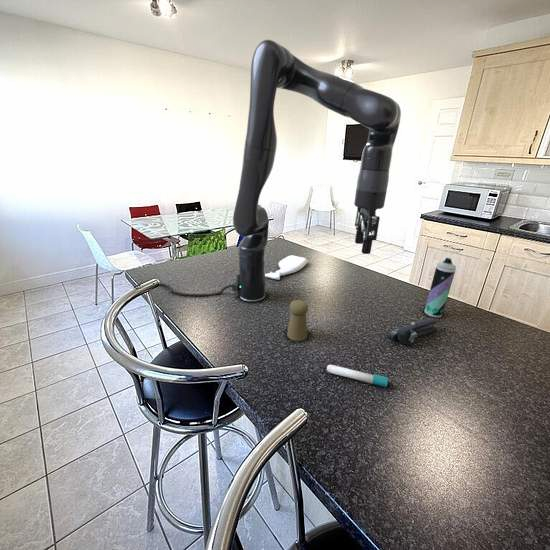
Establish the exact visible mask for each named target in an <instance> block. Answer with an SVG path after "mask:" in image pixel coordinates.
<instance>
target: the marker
mask: <svg viewBox="0 0 550 550" xmlns="http://www.w3.org/2000/svg"><path fill="white" fill-rule="evenodd" d="M326 371H327V372H328V373H329V374H333V375H337V376H340V377H344V378H347V379H353V380H356V381H360V382H364V383H368V384H371V385H374V386H378V387H383V388H387V387H388V383H389V377H388V376H383V375H379V374H375V373H373V374H371V373H367V372H363V371H358V370H354V369H351V368H346V367H343V366H339V365H334V364H328V365H327V366H326Z"/></svg>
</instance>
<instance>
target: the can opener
mask: <svg viewBox="0 0 550 550" xmlns="http://www.w3.org/2000/svg"><path fill="white" fill-rule="evenodd" d="M437 323H438V322H437V319H435V318H428V319H427V318H425V319H422V320H418V321H415V322H414V321H412V322H411V323H410V324H406V325H405V326H402V327H400V328H394V329H391V330H390V331H389V332H388V334H387V337H388V338H390V339H392V340H393V341H399V342H400V343H401V344H402V345H403V344H404V345H408V346H412V345H414V344H415V339H417V338H418V337H421V336H424V335H427V334H430V333H433V332H434V331H436V330H437V329H436V327H435V326H434V324H437Z"/></svg>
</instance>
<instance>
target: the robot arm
mask: <svg viewBox="0 0 550 550" xmlns="http://www.w3.org/2000/svg"><path fill="white" fill-rule="evenodd" d="M255 47H256V48H255V49H254V52H253V55H252V58H251V64H250V65H251V66H250V84H249V85H250V86H249V87H250V88H249V105H248V107H249V108H248V115H247V123H246V124H247V125H246V134H245V139H244V147H243V156H242V166H241V172H240V180H239V186H238V187H239V188H238V193H237V196H236V201H235V206H234V210H233V214H232V225H233V228H234V230H235V232H236V233H237V234H238V235H239V236H241V237H243V238H242V240H241V241H240V242H239V244H238V246H237V248H238V250H237V251H238V272H237V274H236V280H235V282H233V283H232V284H228V285H226V286H224V287H223V288H222V289H221V290H219V291H218V292H213V293H186V292H180V291H176V290H173V289H172V288H171V287H170V286H169V285H167V284H166V283H162V282H159V283H160V284H159V285H158V286H163V287H165V288H166V289H167V290H168V291H169V292H171V293H173V294H176V295H180V296H184V297H213V296H219V295H220V294H222V293H223V292H224V291H225V290H226V289H229V288H231V290H232V292H237V298H239V299H240V300H242V301H244V302H247V303H257V302H261V301H263V300H265V298H266V276H265V274H266V248H267V245H268V242H269V222H270V221H269V214H268V212H267V210H266V209H265V207H264V206H262V205H261V204H259V200H260V197H261V193H262V191H263V189H264V187H265V185H266V183H267V181H268V179H269V177H270V175H271V174H272V170H273V168H274V165H275V159H276V153H277V147H278V136H277V135H278V134H277V127H276V122H275V112H274V111H275V100H276V96H277V89H279V90H280V89H281V90H285V91H291V92H295V93H298V94H300V95H304V96H305V97H307V98H309V99H311V100H313V101H314V102H316V103H317V104H319V105H321V106H322V107H324V108H326V109H328V110H329V111H332V112H334V113H336V114H338V115H341V116H343V117H345V118H348V119H351V120H353V121H355V122H356V123H358V124H360V125H361V126H362V127H365V128H366V129H369V131H368V136H367V142H366V145H364V147H363V150H362V152H361V153H362V154H361V159H360V165H359V173H358V176H357V182H356V189H355V196H354V202H353V203H354V206H355V207H356V208H357V209H356V215H355V222H354V227H355V237H354V238H355V239H354V243H355V244H356V245H362V246H361V254H363V255H370V254H371V252H372V247H373V241H377V238H378V232H379V225H380V219H381V218H380V216H377V210H381V209H383V208H384V207H385V203H386V202H385V201H386V197H387V191H388V187H389V186H388V185H389V181H390V180H389V179H390V168H391V163H392V157H393V149H394V145H395V142H396V138H397V135H398V132H399V129H400V128H399V127H400V124H401V117H402V110H401V107H400V105H399V104H398V102H397V101H396V100H394V99H393V98H391V97H390V96H387V95H385V94H382V93H379V92H377V91H374V90H370V89H368V88H364V87H363V86H361V85H360V84H358V83H355V82H354V81H352V80H349V79H346V78H344V77H341V76H339V75H337V74H333V73H331V72H330V73H329V72H325V71H322V70H319V69H316V68H314V67H312V66H310V65H309V64H307V63H305V62H304V61H302V60H301V59H300V58H298V57H297V56H295V55H294V54H293V53H291V52H290V50H289V49H287V48H286V47H285V46H283V45H281V44H280V43H278V42H276V41H275V40H272V39H264V40H262V41H260V43H258V45H257V46H255ZM143 283H144V282H141V283H139V284H136V286H134V288H136V287H138V286H139V287H141V286H140V285H141V284H143ZM139 287H138V288H139ZM136 289H137V288H136Z"/></svg>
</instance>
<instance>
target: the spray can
mask: <svg viewBox="0 0 550 550" xmlns="http://www.w3.org/2000/svg"><path fill="white" fill-rule="evenodd" d="M456 269H457V266H456V265H454V263H453V261H452V259H451V257H445V259H444V260H443V261H441V262H437V264H436V266H435V270H434V274H433V277H432V281H431V285H430V288H429V292H428V296H427V300H426V304H425V308H424V313H425V314H426V315H427V316H428V317H431V318H442V316H443V313H444V311H445V308H446V303H447V301H448V297H449V294H450V290H451V287H452V285H453V280H454V277H455V274H456V271H457V270H456Z"/></svg>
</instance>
